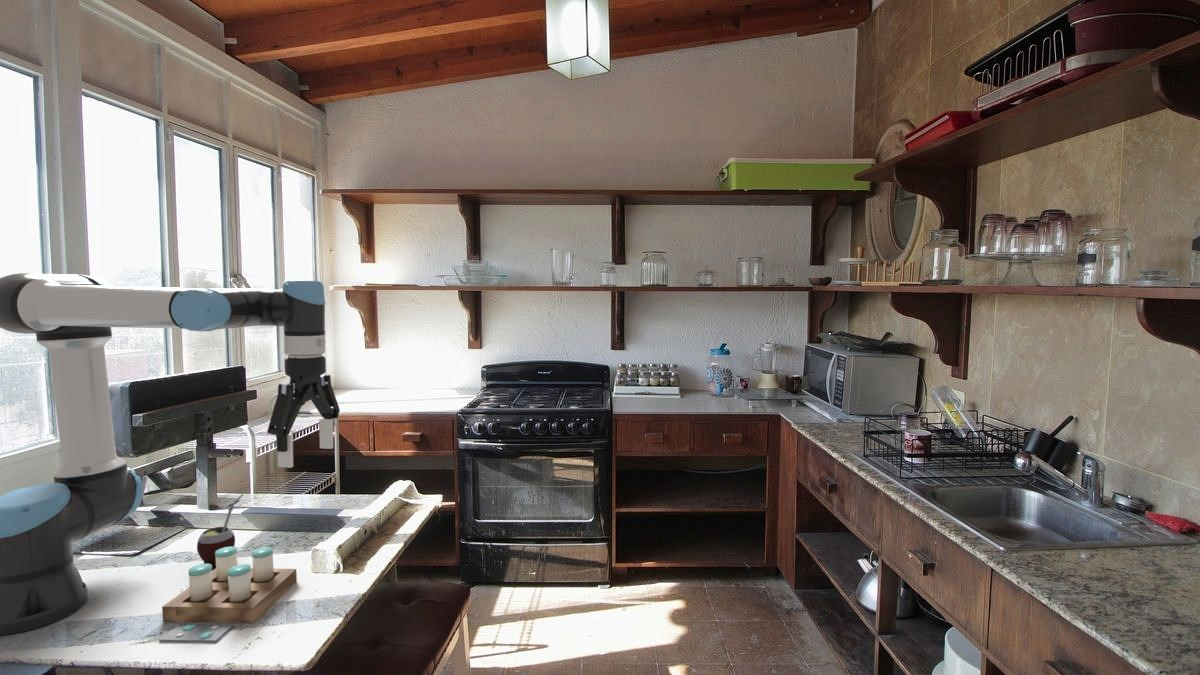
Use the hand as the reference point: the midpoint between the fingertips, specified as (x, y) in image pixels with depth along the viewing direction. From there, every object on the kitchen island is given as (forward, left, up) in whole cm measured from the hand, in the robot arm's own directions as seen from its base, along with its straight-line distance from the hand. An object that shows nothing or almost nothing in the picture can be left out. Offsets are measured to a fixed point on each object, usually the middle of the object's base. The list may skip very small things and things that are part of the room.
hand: (307, 457), depth 119 cm
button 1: (-15, -11, -24) cm, 31 cm away
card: (-11, -18, -27) cm, 35 cm away
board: (-12, -7, -27) cm, 31 cm away
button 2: (-15, -4, -24) cm, 29 cm away
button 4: (-8, -4, -24) cm, 26 cm away
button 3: (-8, -11, -24) cm, 28 cm away
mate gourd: (-25, +8, -28) cm, 38 cm away
